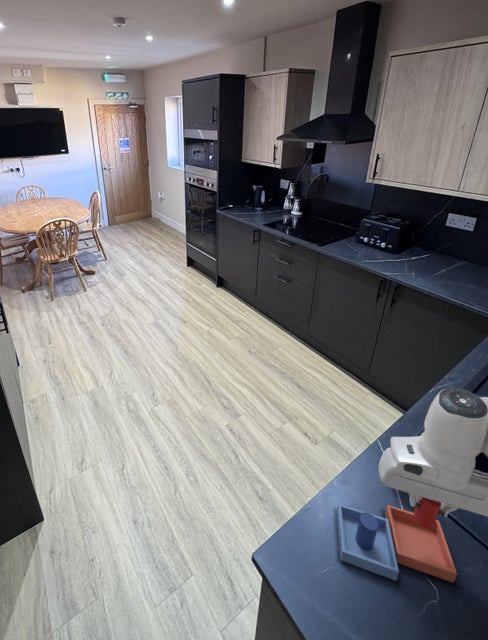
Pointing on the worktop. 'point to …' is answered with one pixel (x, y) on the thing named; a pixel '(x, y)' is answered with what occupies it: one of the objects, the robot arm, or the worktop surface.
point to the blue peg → (366, 531)
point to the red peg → (427, 512)
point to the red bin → (420, 544)
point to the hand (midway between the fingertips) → (427, 508)
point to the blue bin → (351, 552)
